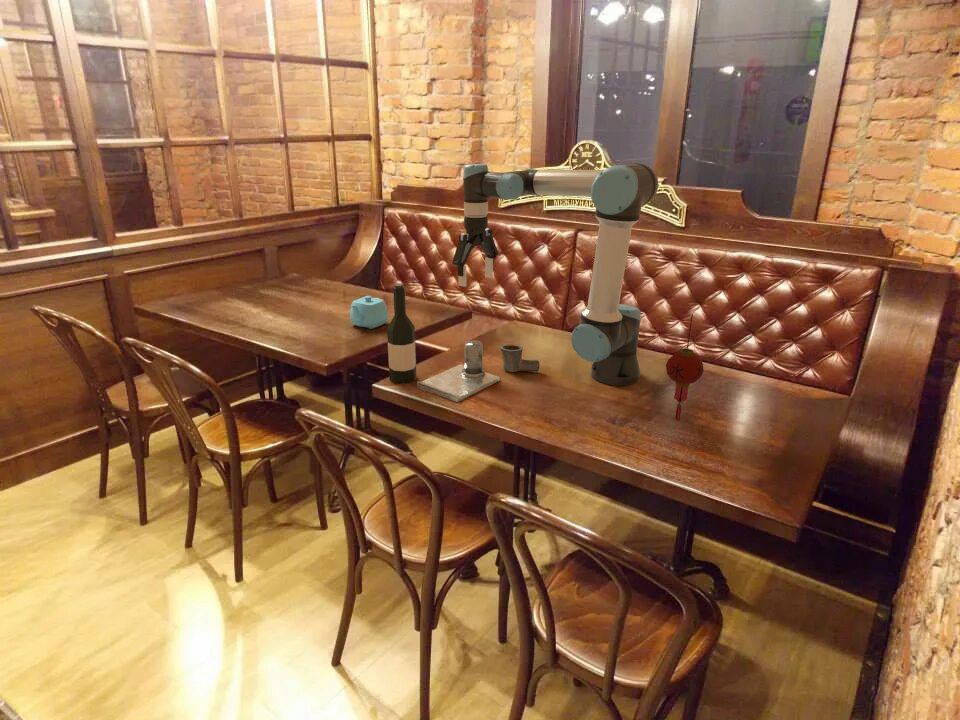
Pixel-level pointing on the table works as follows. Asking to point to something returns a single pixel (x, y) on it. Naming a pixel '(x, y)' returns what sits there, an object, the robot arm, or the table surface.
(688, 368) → the lantern
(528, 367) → the pipe
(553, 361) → the table surface
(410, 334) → the wine bottle
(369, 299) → the teapot
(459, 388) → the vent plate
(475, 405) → the table surface
